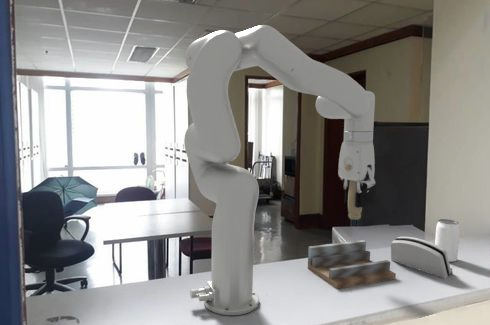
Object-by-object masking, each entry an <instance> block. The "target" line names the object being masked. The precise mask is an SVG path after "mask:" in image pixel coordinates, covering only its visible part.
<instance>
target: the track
mask: <svg viewBox="0 0 490 325" xmlns="http://www.w3.org/2000/svg"><path fill="white" fill-rule="evenodd" d="M366 247H367V240H364V239H361V240H353V241H352V240H351V241H343V242H337V243H336V242H335V243H326V244H320V245H313V246H312V245H310V246H308V252H307V253H308V254H307V270H309V271H310V272H312V273H313V274H314V275H316V276H317V277H319V278H321V279H322V280H323V281H325V282H326V283H327V284H329V286H332V287H333V288H335V289H336V290H339V289H344V288H345V289H346V288H350V287H356V286H362V285H363V286H364V285H367V284H369V285H370V284H374V283H378V282H385V281H391V280H396V277H397V276H396V274H397V273H395V272H394V271H392V270H391V260H387V259H386V260H380V261H373V260H371V251H369V250H366Z"/></svg>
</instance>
